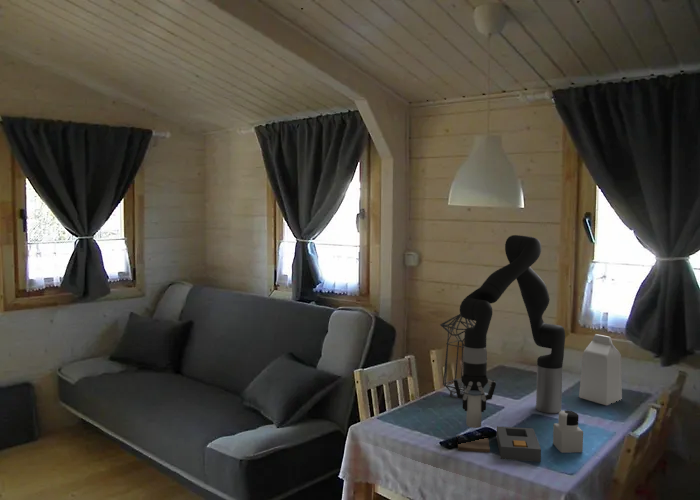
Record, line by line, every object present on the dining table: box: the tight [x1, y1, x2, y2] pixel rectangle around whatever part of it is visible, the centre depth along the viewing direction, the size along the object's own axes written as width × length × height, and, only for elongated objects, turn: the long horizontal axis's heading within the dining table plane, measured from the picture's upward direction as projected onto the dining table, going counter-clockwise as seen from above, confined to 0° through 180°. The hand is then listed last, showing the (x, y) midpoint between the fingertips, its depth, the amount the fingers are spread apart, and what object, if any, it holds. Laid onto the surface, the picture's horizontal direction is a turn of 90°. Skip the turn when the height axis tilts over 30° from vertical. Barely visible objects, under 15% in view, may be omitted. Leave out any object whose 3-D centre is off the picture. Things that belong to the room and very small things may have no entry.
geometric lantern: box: [439, 313, 476, 400], centre depth 245 cm, size 16×16×35 cm
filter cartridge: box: [465, 390, 483, 429], centre depth 195 cm, size 5×5×12 cm
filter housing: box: [495, 425, 542, 463], centre depth 193 cm, size 17×12×4 cm
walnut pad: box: [457, 434, 491, 453], centre depth 196 cm, size 10×10×1 cm
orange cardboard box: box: [513, 440, 527, 447], centre depth 187 cm, size 4×4×4 cm
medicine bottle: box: [552, 410, 584, 454], centre depth 193 cm, size 7×7×12 cm
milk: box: [578, 333, 623, 406], centre depth 241 cm, size 12×12×26 cm
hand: (474, 410), depth 195 cm, fingers closed on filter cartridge, 4 cm apart
